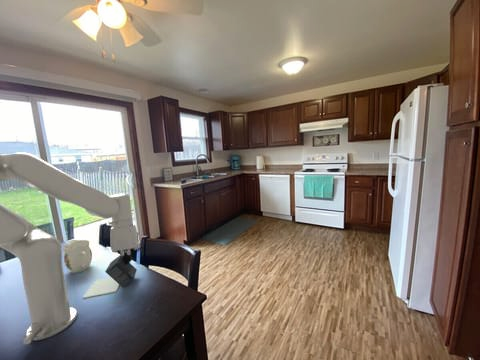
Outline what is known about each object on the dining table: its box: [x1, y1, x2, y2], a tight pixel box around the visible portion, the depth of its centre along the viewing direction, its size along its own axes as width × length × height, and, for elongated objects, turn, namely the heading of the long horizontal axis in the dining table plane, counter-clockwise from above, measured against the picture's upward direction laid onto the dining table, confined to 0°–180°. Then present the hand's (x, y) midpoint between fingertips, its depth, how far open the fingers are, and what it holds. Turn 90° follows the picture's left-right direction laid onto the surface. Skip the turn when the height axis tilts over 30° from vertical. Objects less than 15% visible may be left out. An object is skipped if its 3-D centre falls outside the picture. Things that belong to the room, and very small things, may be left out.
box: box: [104, 254, 138, 288], centre depth 90 cm, size 8×6×11 cm
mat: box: [82, 277, 121, 299], centre depth 89 cm, size 12×12×1 cm
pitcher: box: [62, 239, 93, 274], centre depth 103 cm, size 11×18×14 cm, turn 57°
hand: (127, 262), depth 90 cm, fingers closed
